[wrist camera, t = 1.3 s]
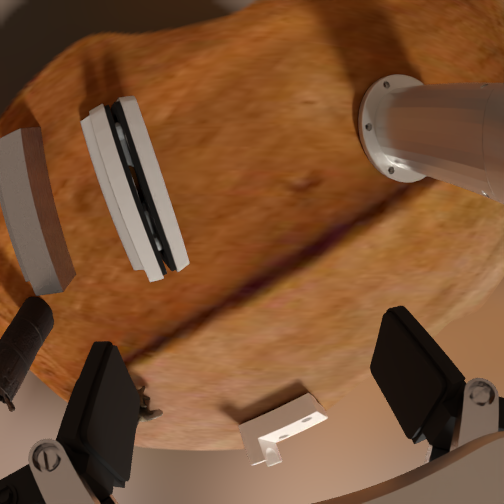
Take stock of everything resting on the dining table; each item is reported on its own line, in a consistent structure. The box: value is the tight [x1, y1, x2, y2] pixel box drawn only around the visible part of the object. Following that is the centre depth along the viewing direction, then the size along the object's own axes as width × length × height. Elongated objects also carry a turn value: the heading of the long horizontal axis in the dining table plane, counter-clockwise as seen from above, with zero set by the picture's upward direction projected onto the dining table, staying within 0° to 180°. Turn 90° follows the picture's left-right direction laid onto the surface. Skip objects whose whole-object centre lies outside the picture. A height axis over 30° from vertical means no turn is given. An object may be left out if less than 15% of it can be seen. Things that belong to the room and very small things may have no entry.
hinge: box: [81, 96, 189, 282], centre depth 23 cm, size 17×5×10 cm, turn 14°
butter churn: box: [0, 297, 54, 412], centre depth 18 cm, size 9×10×28 cm
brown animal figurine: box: [136, 386, 163, 428], centre depth 36 cm, size 8×8×10 cm
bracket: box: [238, 393, 328, 466], centre depth 41 cm, size 13×7×8 cm, turn 121°
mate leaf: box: [0, 127, 76, 296], centre depth 24 cm, size 8×17×4 cm, turn 6°
